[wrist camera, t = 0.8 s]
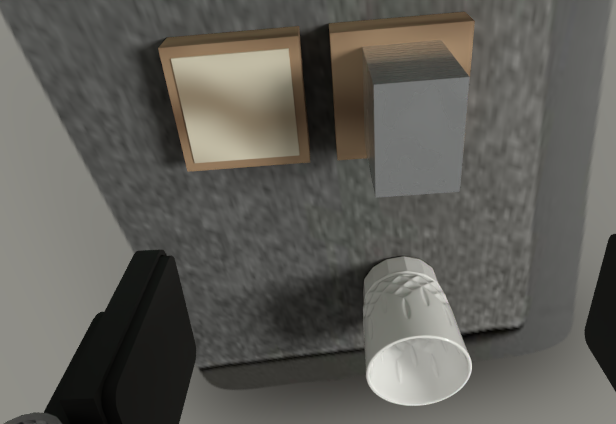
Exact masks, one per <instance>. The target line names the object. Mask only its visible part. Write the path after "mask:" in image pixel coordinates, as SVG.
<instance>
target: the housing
mask: <svg viewBox="0 0 616 424" xmlns="http://www.w3.org/2000/svg"><path fill="white" fill-rule="evenodd" d="M362 56H363V92H364V129H365V148H366V153H367V158H368V163H369V168H370V173H371V178H372V183H373V187H374V192H375V197H389V196H403V195H417V194H431V193H445V192H459V191H460V183H461V172H462V160H463V148H464V137H465V125H466V114H467V102H468V91H469V79H470V77H469V75H468V74H467V73H466V71H465V70H464V69H463V68H462V66H461V65H460V64H459V62H458V61H457V60H456V58H455V57H454V56H453V55H452V53H451V52H450V51H449V49H448V48H447V47H446V45H445V44H444V43H443V42H442V40H435V41H423V42H412V43H400V44H388V45H376V46H364V47H362Z"/></svg>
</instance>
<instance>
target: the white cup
mask: <svg viewBox="0 0 616 424" xmlns="http://www.w3.org/2000/svg"><path fill="white" fill-rule="evenodd" d="M363 298H364V305H363V329H364V345H365V362H366V378H367V382H368V384H369V386H370V388H371V389H372V391H374V392H375V394H377V395H378V396H379V397H381V398H383V399H384V400H387V401H389V402H392V403H395V404H400V405H408V406H418V405H427V404H432V403H436V402H438V401H441V400H444V399H446V398H448V397H450V396H452V395H453V394H455V393H456V392H458V391H459V390H460V389H461V388H462V387H463V386H464V385H465V384H466V382H467V381H468V379H469V377H470V374H471V370H472V362H471V359H470V356H469V354H468V351H467V349H466V346H465V343H464V341H463V338H462V336H461V333H460V331H459V328H458V325H457V323H456V320H455V318H454V315H453V312H452V310H451V307H450V305H449V303H448V301H447V298H446V296H445V293H444V292H443V291H442V289H441V287H440V284H439V282H438V279H437V277H436V275H435V273H434V270H433V268H432V267H430V266H429V265H428V264H426V263H425V262H423V261H422V260H420V259H416V258H411V257H405V256H402V257H396V258H391V259H386V260H384V261H383V262H381V263H379V264H378V265H376V266H374V267H373V268H372V269H371V270H370V272H369V273H368V275H367V276H366V277H365V279H364V288H363Z"/></svg>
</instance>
